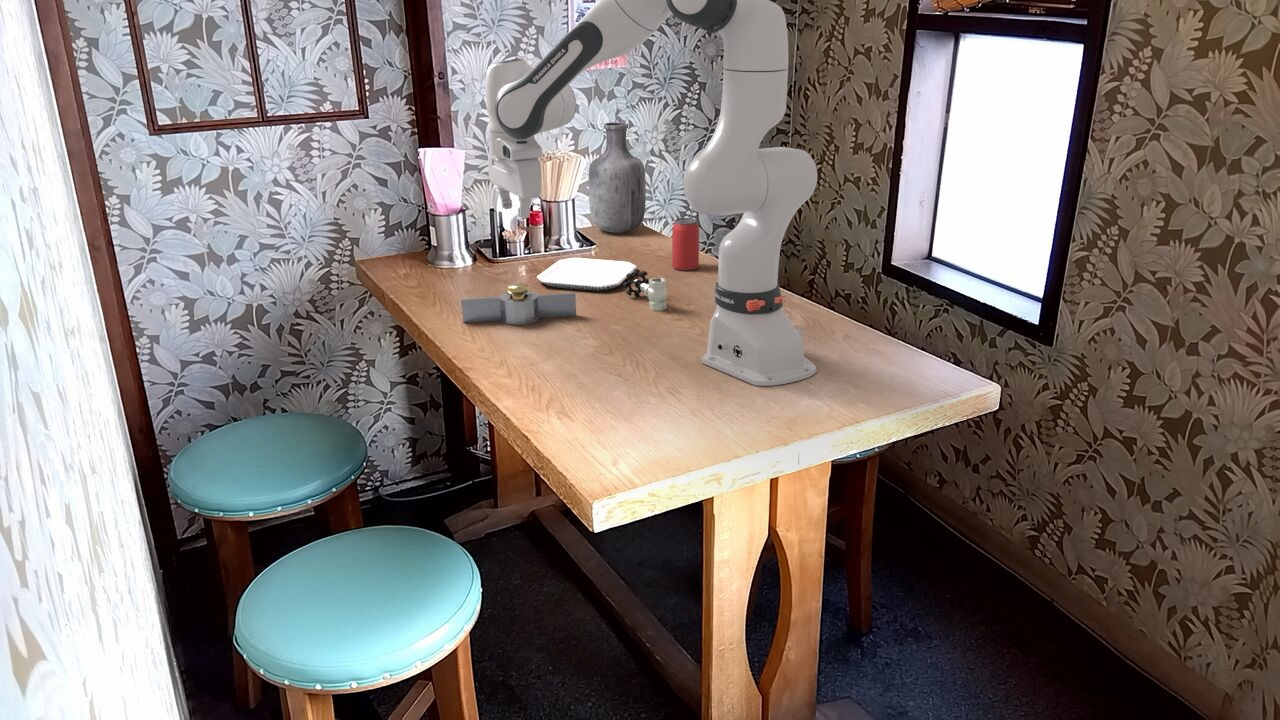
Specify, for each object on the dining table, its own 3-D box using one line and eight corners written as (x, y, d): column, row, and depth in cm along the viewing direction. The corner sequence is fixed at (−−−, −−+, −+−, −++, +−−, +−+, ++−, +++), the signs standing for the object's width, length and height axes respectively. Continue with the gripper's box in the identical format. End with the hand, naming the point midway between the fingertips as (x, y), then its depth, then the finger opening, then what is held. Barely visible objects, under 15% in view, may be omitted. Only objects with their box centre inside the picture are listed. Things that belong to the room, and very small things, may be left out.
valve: (675, 309, 209) (648, 294, 219) (675, 280, 206) (648, 266, 216) (649, 314, 206) (623, 298, 216) (649, 284, 203) (622, 270, 213)
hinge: (574, 309, 209) (573, 287, 207) (577, 321, 201) (576, 299, 199) (463, 315, 205) (461, 293, 204) (462, 328, 198) (460, 305, 196)
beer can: (668, 265, 239) (668, 218, 235) (693, 262, 241) (693, 216, 237) (677, 272, 234) (677, 224, 229) (702, 270, 235) (703, 222, 231)
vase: (656, 233, 269) (656, 125, 258) (606, 241, 262) (604, 130, 250) (628, 221, 282) (627, 118, 271) (580, 228, 275) (576, 122, 263)
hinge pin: (517, 322, 201) (515, 290, 198) (505, 317, 204) (502, 285, 201) (533, 317, 204) (532, 285, 201) (521, 312, 207) (519, 281, 204)
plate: (531, 288, 224) (531, 279, 223) (563, 264, 242) (563, 256, 241) (614, 296, 218) (614, 286, 217) (641, 271, 236) (641, 262, 235)
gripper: (478, 138, 197) (483, 204, 202) (514, 152, 180) (519, 224, 185) (507, 136, 199) (511, 201, 204) (545, 149, 183) (549, 220, 188)
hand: (515, 212), depth 195 cm, fingers open, 8 cm apart
